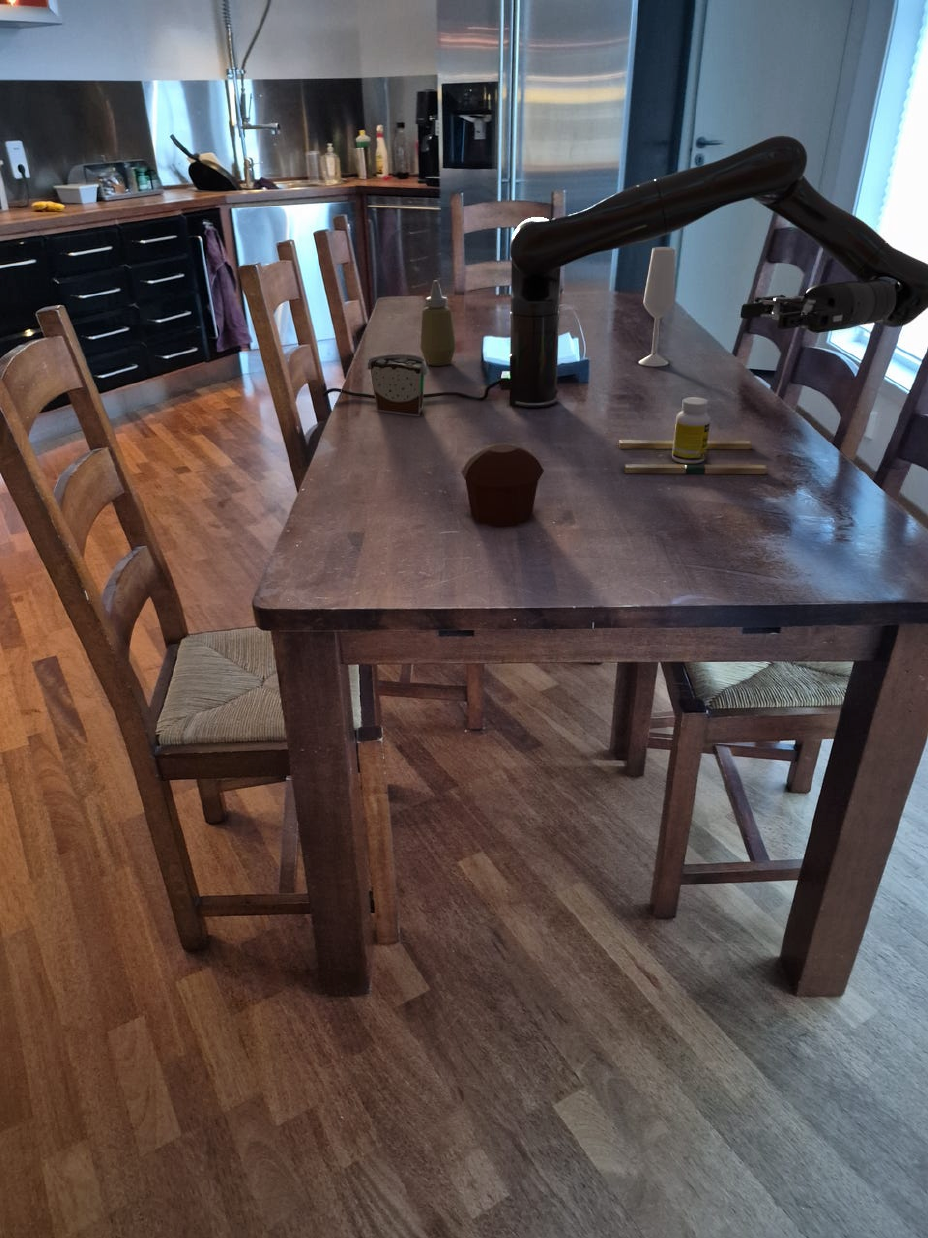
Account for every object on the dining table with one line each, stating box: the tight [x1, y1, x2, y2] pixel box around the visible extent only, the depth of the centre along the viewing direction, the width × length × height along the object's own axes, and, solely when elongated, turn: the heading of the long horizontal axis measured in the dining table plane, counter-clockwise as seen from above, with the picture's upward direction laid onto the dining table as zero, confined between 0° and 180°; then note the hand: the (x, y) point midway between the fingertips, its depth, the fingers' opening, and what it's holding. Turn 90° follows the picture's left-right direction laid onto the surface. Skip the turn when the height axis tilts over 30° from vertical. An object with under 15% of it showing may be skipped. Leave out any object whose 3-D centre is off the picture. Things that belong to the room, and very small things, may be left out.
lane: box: [618, 439, 768, 475], centre depth 143 cm, size 22×13×1 cm, turn 86°
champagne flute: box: [638, 246, 676, 367], centre depth 190 cm, size 7×7×24 cm
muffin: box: [460, 443, 545, 528], centre depth 123 cm, size 12×11×10 cm
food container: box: [366, 353, 429, 417], centre depth 167 cm, size 12×6×10 cm, turn 65°
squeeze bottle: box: [420, 279, 457, 367], centre depth 195 cm, size 8×8×18 cm
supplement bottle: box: [671, 396, 711, 465], centre depth 140 cm, size 5×5×10 cm
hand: (760, 316), depth 136 cm, fingers open, 8 cm apart
